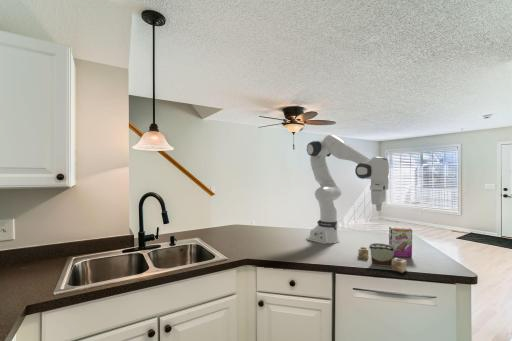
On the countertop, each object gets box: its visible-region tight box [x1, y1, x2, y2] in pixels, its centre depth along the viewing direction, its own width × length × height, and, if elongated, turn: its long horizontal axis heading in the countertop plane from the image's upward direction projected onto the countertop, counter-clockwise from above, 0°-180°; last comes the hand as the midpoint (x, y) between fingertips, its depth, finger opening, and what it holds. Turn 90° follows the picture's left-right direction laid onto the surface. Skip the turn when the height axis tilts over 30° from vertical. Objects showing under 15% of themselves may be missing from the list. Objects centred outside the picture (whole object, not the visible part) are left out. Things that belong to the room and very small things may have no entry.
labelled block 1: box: [357, 246, 369, 260], centre depth 144 cm, size 5×5×5 cm
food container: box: [368, 243, 395, 268], centre depth 134 cm, size 12×6×10 cm, turn 71°
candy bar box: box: [388, 226, 413, 259], centre depth 145 cm, size 11×5×16 cm, turn 77°
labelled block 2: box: [391, 257, 408, 273], centre depth 126 cm, size 5×5×5 cm
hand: (378, 210), depth 138 cm, fingers closed
